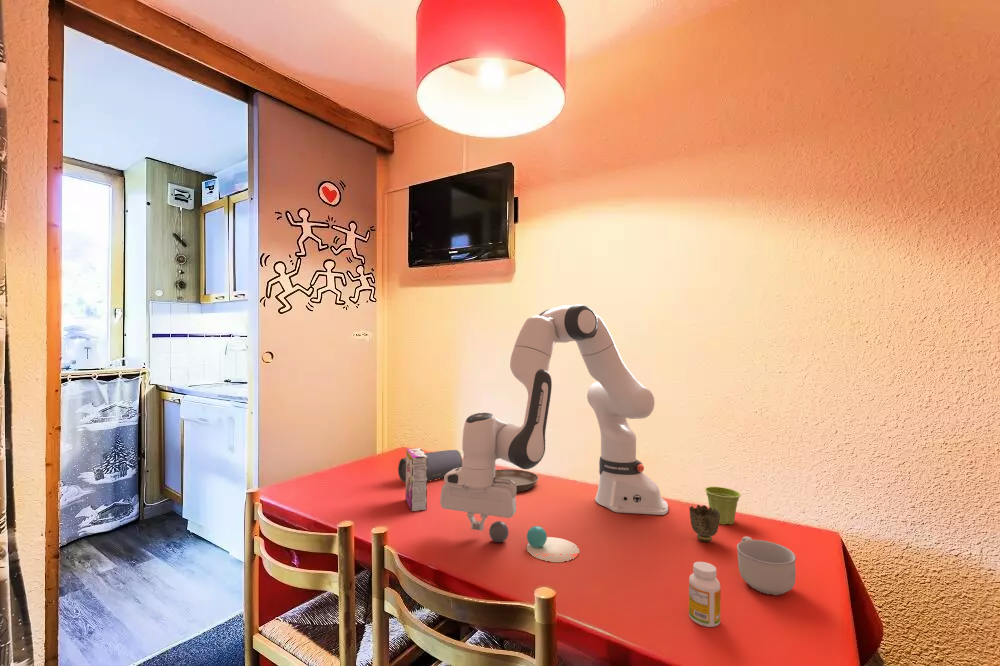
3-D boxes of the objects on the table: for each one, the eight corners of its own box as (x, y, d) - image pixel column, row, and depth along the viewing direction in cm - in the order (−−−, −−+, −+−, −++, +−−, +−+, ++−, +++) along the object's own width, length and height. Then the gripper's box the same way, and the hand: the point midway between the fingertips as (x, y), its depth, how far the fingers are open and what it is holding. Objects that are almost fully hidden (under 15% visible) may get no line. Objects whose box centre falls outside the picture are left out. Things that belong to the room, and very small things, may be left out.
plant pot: (709, 512, 136) (709, 484, 136) (743, 520, 130) (743, 491, 130) (700, 521, 129) (701, 491, 129) (736, 530, 123) (736, 499, 123)
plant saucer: (480, 476, 169) (480, 467, 169) (534, 476, 170) (534, 468, 170) (481, 495, 148) (481, 485, 148) (542, 495, 150) (542, 485, 150)
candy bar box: (404, 499, 141) (405, 448, 142) (419, 498, 143) (421, 447, 144) (410, 512, 131) (412, 457, 131) (427, 510, 133) (428, 455, 133)
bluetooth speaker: (449, 471, 174) (450, 446, 174) (463, 477, 167) (463, 450, 167) (396, 482, 159) (397, 454, 160) (409, 489, 152) (409, 460, 153)
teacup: (805, 605, 88) (805, 564, 88) (746, 597, 90) (746, 558, 90) (776, 570, 101) (776, 535, 102) (725, 564, 104) (726, 530, 104)
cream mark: (582, 542, 114) (582, 541, 114) (575, 566, 101) (575, 565, 101) (533, 534, 117) (533, 534, 117) (520, 557, 105) (520, 556, 105)
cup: (702, 547, 112) (702, 516, 112) (682, 535, 119) (683, 505, 119) (726, 545, 114) (726, 513, 114) (706, 533, 121) (706, 503, 121)
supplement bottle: (711, 610, 85) (711, 559, 86) (726, 628, 80) (726, 573, 80) (683, 610, 85) (684, 559, 85) (697, 628, 80) (697, 573, 80)
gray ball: (496, 515, 116) (491, 532, 116) (488, 522, 111) (484, 540, 112) (513, 522, 114) (508, 540, 115) (506, 531, 110) (501, 549, 110)
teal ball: (526, 536, 114) (543, 546, 112) (521, 544, 109) (540, 555, 108) (533, 519, 113) (551, 529, 112) (529, 526, 109) (547, 537, 107)
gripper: (519, 477, 116) (518, 530, 115) (448, 468, 122) (446, 519, 121) (513, 484, 109) (512, 540, 109) (438, 475, 116) (437, 528, 115)
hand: (477, 529), depth 115 cm, fingers closed
